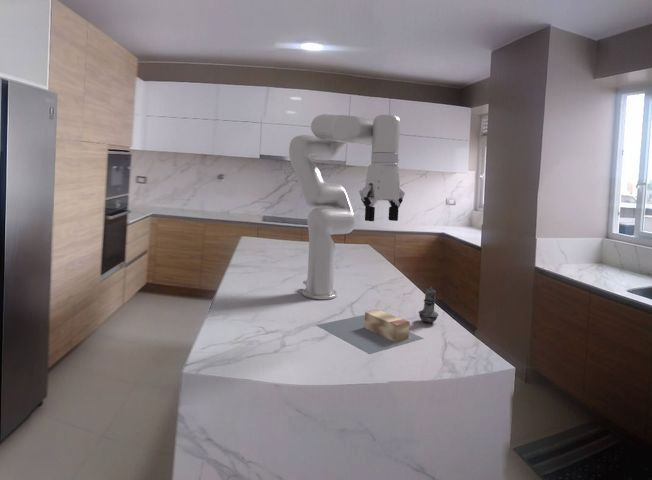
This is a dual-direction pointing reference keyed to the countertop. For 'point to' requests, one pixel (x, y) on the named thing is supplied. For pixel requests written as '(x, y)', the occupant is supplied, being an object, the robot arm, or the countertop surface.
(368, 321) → the beige brown block
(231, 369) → the countertop surface
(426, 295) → the grey chess piece
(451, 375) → the countertop surface
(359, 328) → the slate mat
